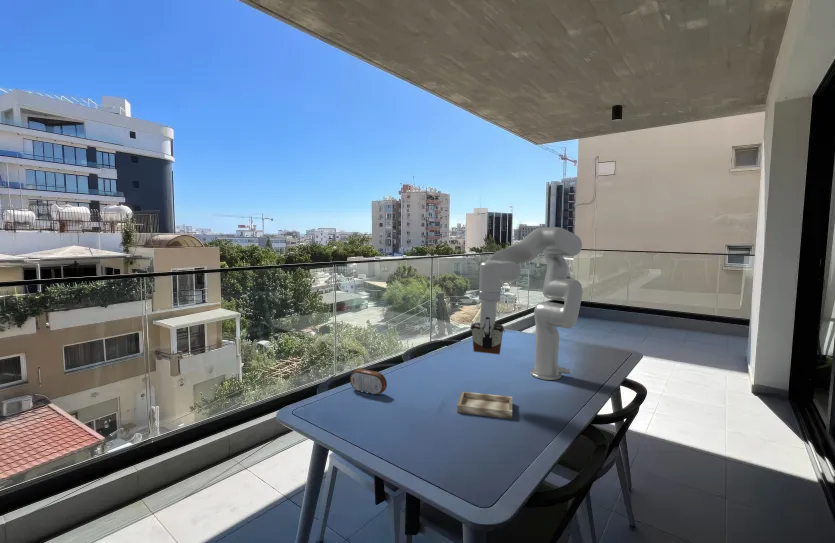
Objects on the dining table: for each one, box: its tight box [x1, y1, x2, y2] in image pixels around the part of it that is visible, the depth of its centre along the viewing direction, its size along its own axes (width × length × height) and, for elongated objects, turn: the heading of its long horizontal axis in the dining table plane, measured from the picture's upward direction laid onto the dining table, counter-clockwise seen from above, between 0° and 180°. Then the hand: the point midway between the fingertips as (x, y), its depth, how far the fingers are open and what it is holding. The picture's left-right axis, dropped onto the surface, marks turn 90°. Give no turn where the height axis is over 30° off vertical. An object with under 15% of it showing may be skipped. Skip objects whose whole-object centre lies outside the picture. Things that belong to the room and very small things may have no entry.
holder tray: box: [456, 391, 513, 420], centre depth 134 cm, size 18×12×2 cm, turn 76°
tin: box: [349, 368, 388, 396], centre depth 146 cm, size 15×3×8 cm, turn 65°
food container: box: [469, 321, 506, 356], centre depth 141 cm, size 12×6×10 cm, turn 70°
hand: (487, 345), depth 140 cm, fingers closed on food container, 5 cm apart
